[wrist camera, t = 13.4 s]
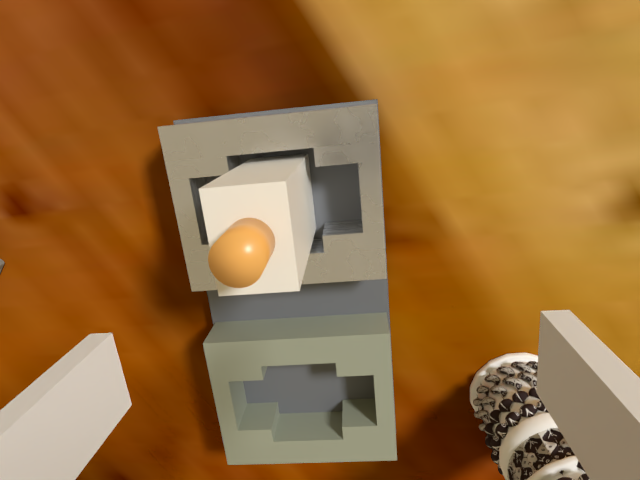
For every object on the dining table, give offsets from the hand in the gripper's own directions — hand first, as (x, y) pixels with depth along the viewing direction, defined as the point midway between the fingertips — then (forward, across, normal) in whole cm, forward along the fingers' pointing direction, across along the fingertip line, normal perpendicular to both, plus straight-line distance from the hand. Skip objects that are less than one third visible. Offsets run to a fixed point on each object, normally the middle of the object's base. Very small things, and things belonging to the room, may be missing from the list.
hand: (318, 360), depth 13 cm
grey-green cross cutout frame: (+22, +5, +16) cm, 27 cm away
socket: (+22, +5, -1) cm, 22 cm away
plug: (+22, +5, -1) cm, 22 cm away
